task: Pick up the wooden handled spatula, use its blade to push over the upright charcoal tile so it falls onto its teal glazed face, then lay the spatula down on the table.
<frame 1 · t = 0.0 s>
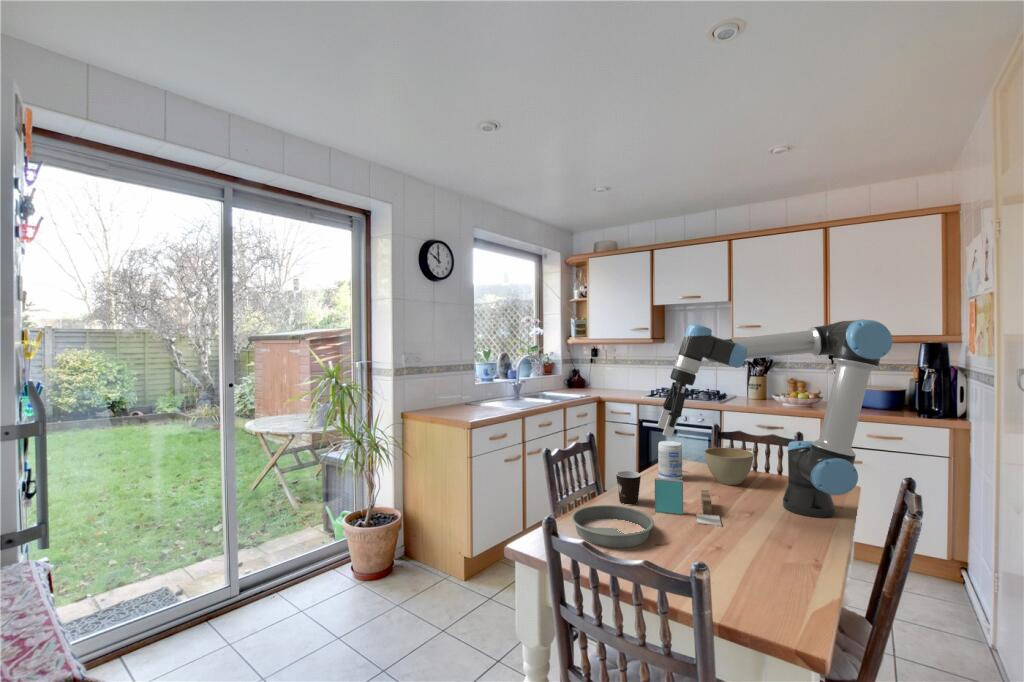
hand: (663, 432, 157), 28 cm above the table, tool tilted 20°, fingers open, 13 cm apart
standing tile: (669, 512, 161), on the table
wooden handled spatula: (706, 510, 163), on the table
cake pan: (612, 533, 146), on the table
supplement tub: (670, 478, 200), on the table
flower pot: (728, 482, 194), on the table
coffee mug: (628, 501, 173), on the table
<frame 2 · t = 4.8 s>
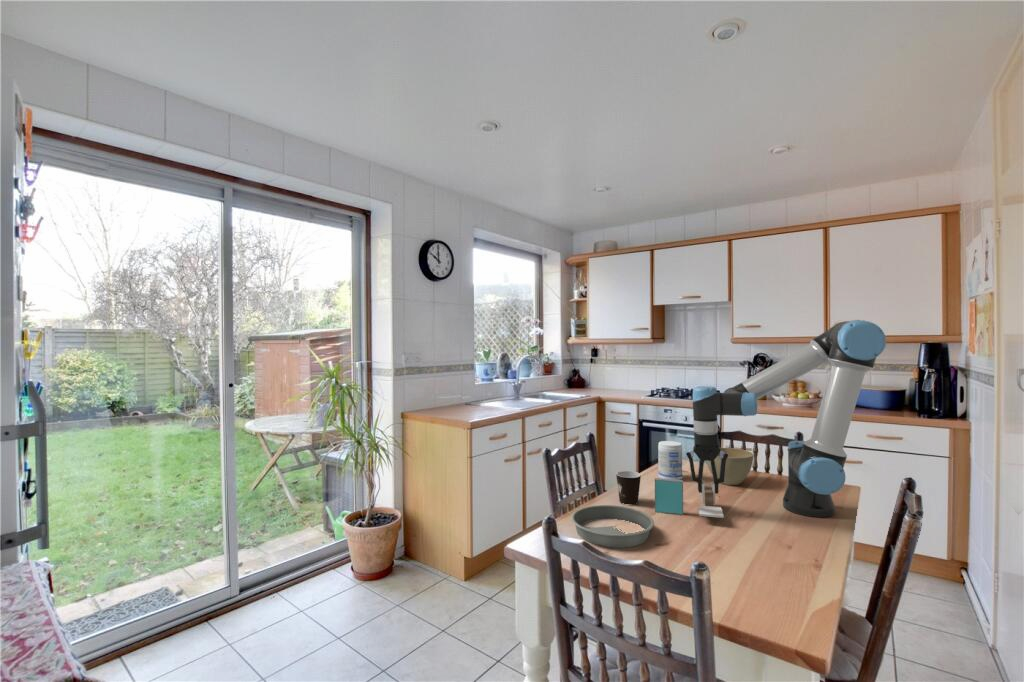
hand: (708, 502, 161), 3 cm above the table, tool pointing down, fingers closed on wooden handled spatula, 2 cm apart
wooden handled spatula: (708, 502, 163), point 3 cm above the table, touching gripper
everything else where it was.
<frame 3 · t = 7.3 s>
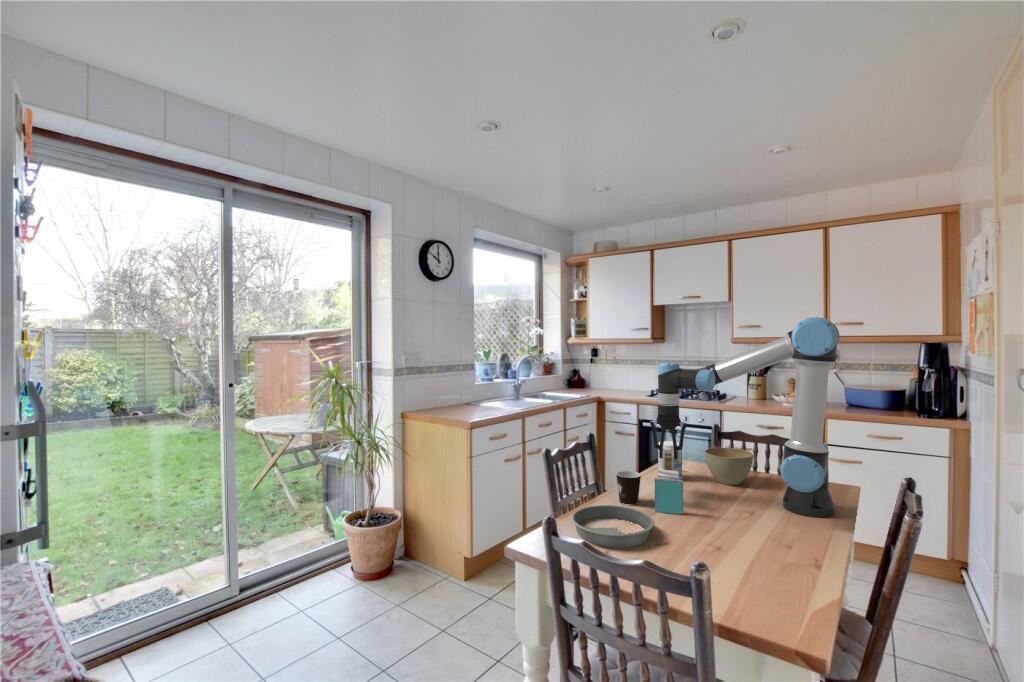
hand: (668, 467, 177), 11 cm above the table, tool pointing down, fingers closed on wooden handled spatula, 2 cm apart
wooden handled spatula: (668, 467, 179), point 10 cm above the table, touching gripper
everything else where it was.
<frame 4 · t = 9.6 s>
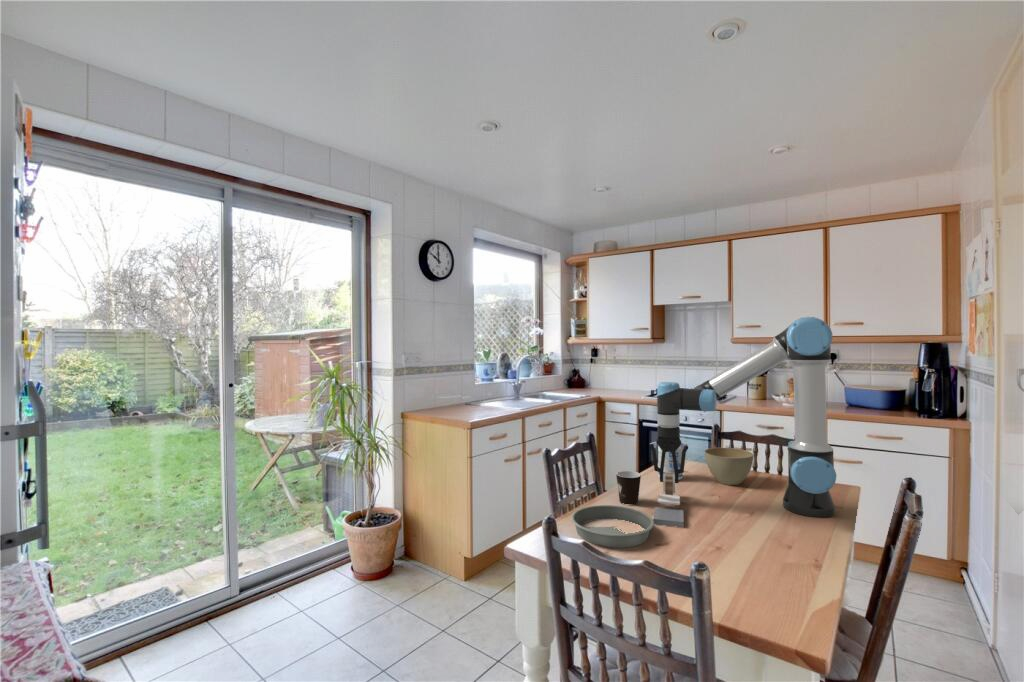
hand: (669, 491, 171), 4 cm above the table, tool pointing down, fingers closed on wooden handled spatula, 2 cm apart
standing tile: (668, 511, 160), point 1 cm above the table, tilted 90°
wooden handled spatula: (669, 491, 172), point 3 cm above the table, touching gripper
everything else where it was.
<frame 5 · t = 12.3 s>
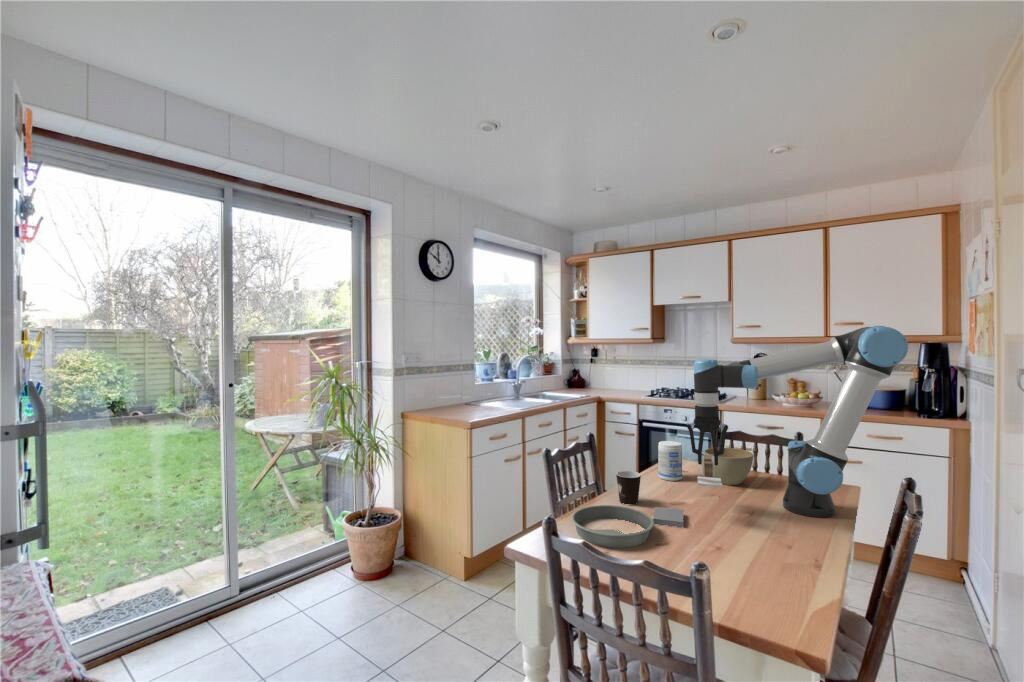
hand: (708, 474, 162), 12 cm above the table, tool pointing down, fingers closed on wooden handled spatula, 2 cm apart
wooden handled spatula: (707, 474, 164), point 12 cm above the table, touching gripper
everything else where it was.
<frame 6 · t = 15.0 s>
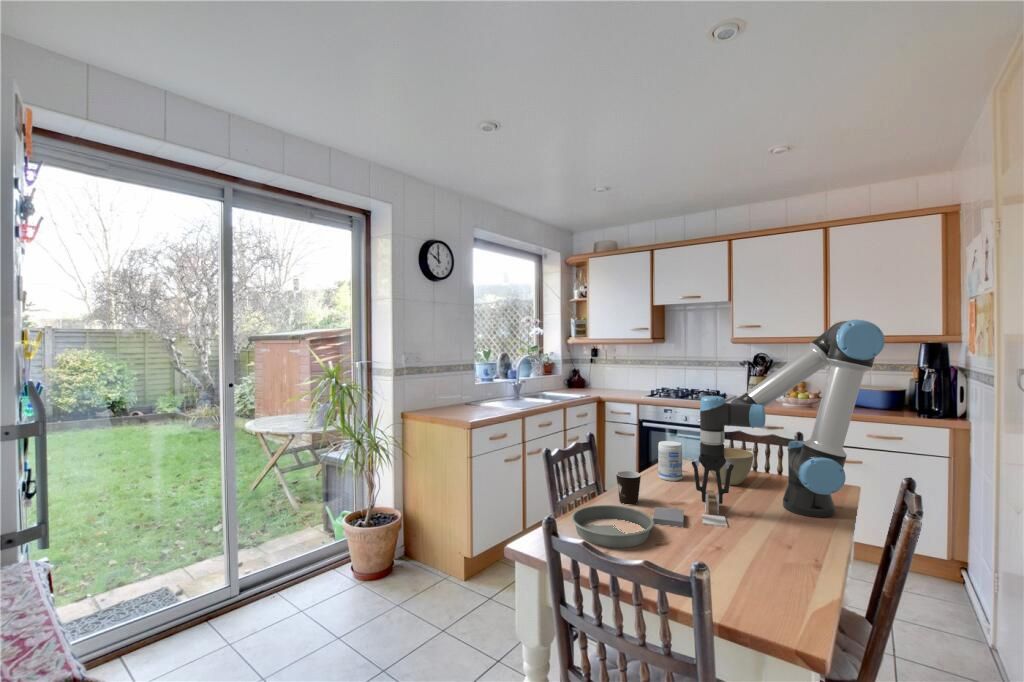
hand: (711, 512, 161), 0 cm above the table, tool pointing down, fingers open, 3 cm apart
wooden handled spatula: (711, 510, 162), on the table
everything else where it was.
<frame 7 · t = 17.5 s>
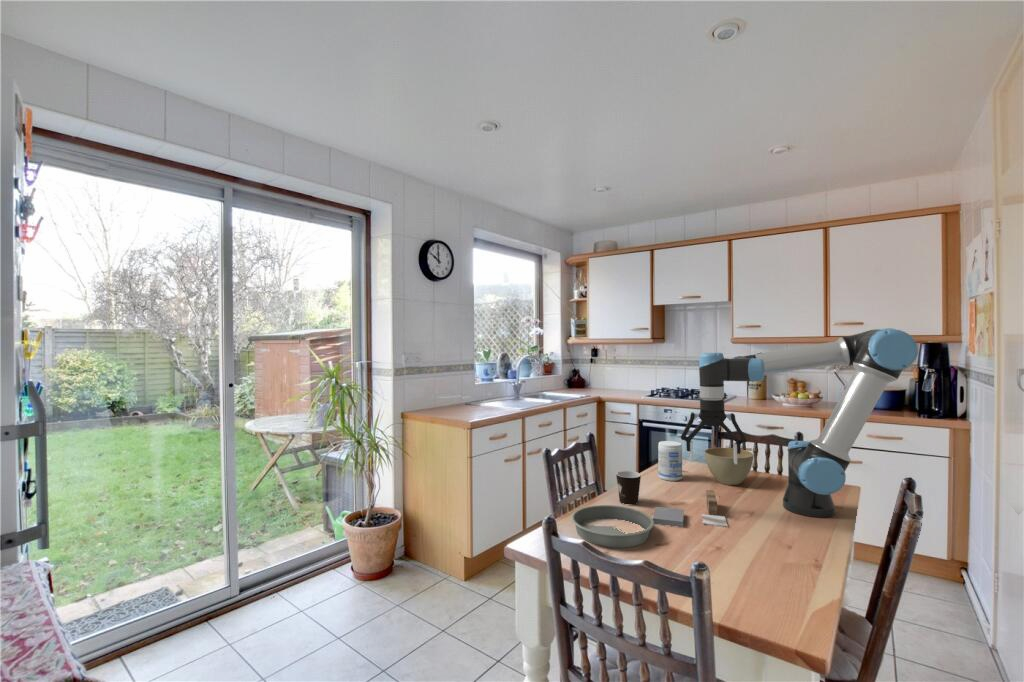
hand: (713, 462, 160), 17 cm above the table, tool pointing down, fingers open, 13 cm apart
nothing on the table moved.
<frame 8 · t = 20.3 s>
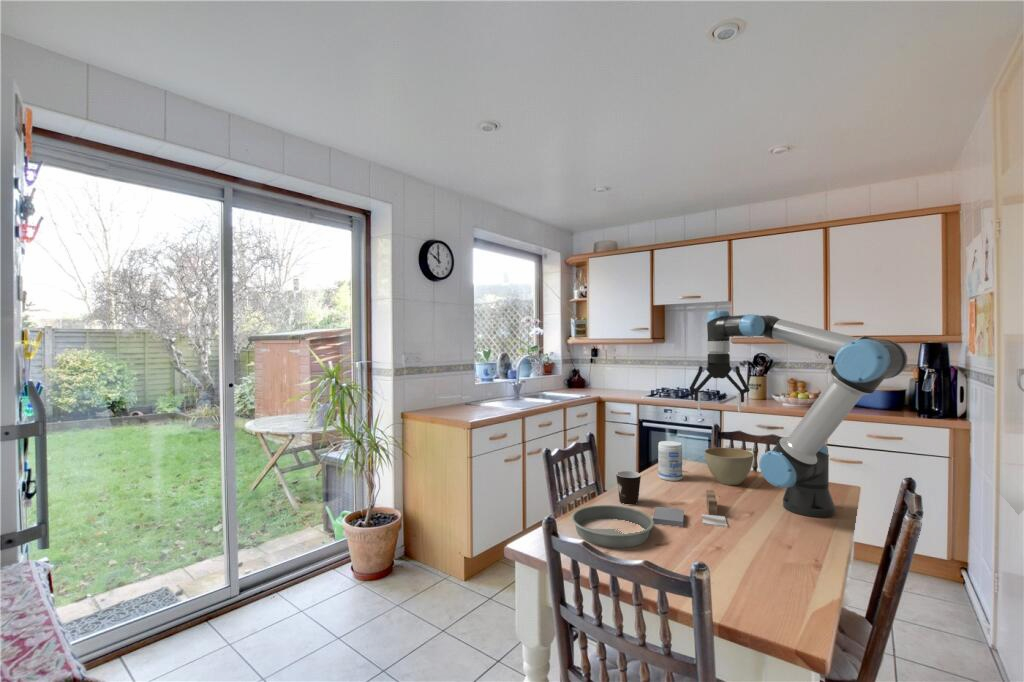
hand: (719, 410, 176), 32 cm above the table, tool pointing down, fingers open, 13 cm apart
nothing on the table moved.
at the end: standing tile tilted 90°; the gripper is holding nothing; wooden handled spatula inside the target area (0.1 cm from its centre), on the table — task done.
